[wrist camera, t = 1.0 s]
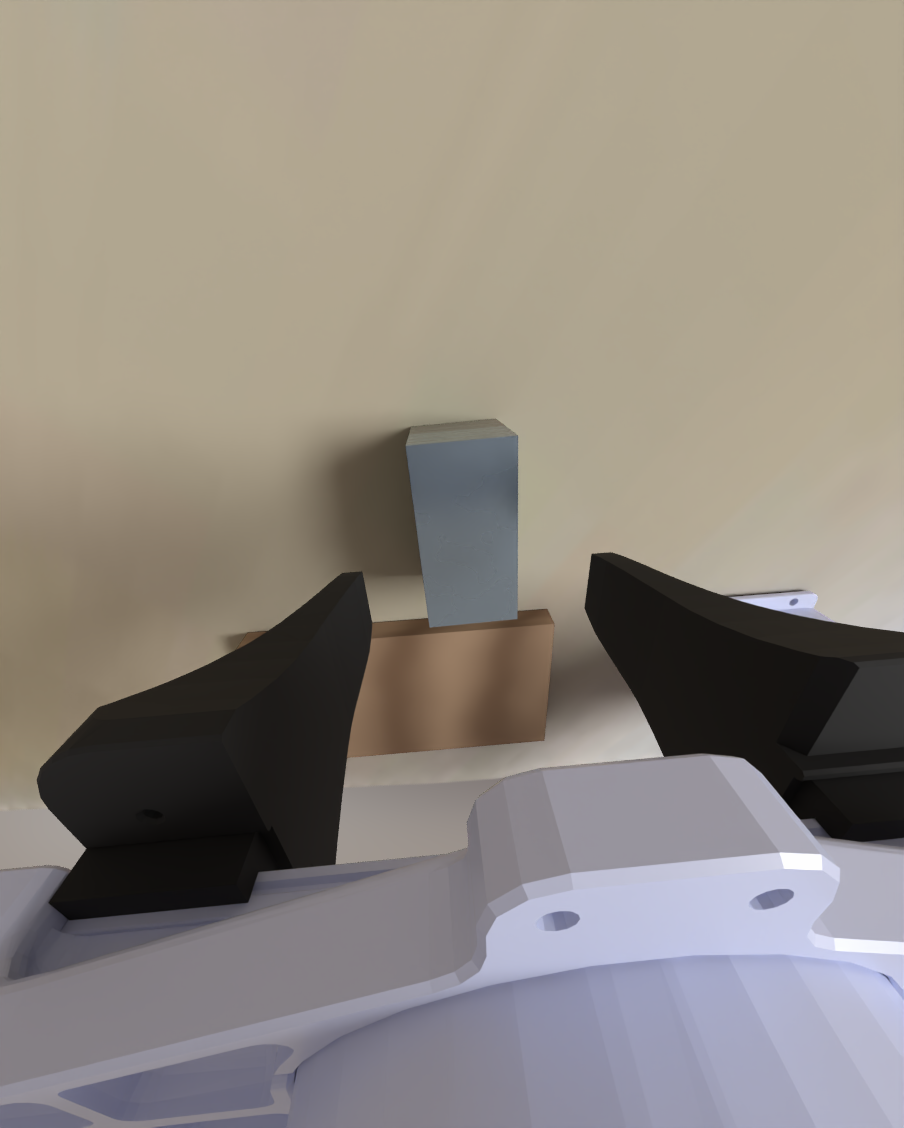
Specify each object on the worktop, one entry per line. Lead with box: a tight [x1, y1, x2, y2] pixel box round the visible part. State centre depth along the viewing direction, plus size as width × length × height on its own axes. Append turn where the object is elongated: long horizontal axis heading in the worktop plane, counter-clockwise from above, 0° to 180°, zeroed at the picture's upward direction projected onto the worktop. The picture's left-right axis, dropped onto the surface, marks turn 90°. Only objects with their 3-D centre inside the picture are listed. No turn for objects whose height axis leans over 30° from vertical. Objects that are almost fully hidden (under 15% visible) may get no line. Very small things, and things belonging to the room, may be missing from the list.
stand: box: [236, 609, 554, 758], centre depth 24 cm, size 18×10×2 cm, turn 93°
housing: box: [406, 419, 518, 628], centre depth 17 cm, size 4×8×5 cm, turn 5°
